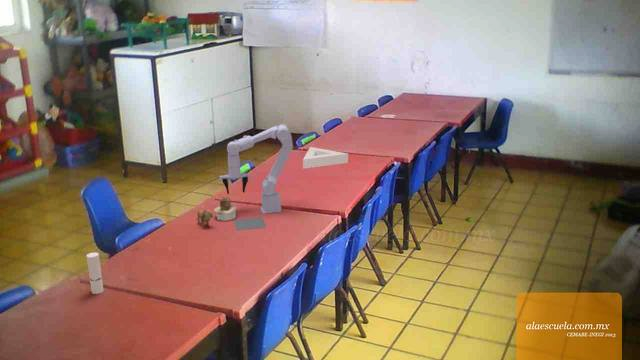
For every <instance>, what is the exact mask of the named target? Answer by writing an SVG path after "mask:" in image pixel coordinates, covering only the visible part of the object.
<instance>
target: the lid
mask: <svg viewBox="0 0 640 360" xmlns="http://www.w3.org/2000/svg"><path fill="white" fill-rule="evenodd" d="M213 211H214V214H216V213H218V214H230V213H234V212H237V211H238V207H237V206H235V205H233V204H232V205H231V198H230V197H221V198H220V200H219V206H217V207H215V208H214V210H213Z"/></svg>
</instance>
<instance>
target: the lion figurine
mask: <svg viewBox="0 0 640 360" xmlns="http://www.w3.org/2000/svg"><path fill="white" fill-rule="evenodd" d="M214 216H215V213H213V212H212V211H211V210H210V209H206V210H203V209H199V210H198V211H197V218H196V220H197V225H200V224H201V225H202V227H201V228H202V229H206V227H205V226H207V227H209V226H210V225H209V222H210V221H211V220H212V218H213V219H214ZM200 221H201V222H200ZM205 223H206V225H205Z"/></svg>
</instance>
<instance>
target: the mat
mask: <svg viewBox="0 0 640 360" xmlns="http://www.w3.org/2000/svg"><path fill="white" fill-rule="evenodd" d="M233 223H234V226H235V228H236V231H237V232H238V231H248V230H255V229H256V230H257V229H266V228H268V227H267V225H266V223H265V220H264V218H263V216H258V217H249V218H239V219H233Z"/></svg>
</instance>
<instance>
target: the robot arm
mask: <svg viewBox="0 0 640 360" xmlns="http://www.w3.org/2000/svg"><path fill="white" fill-rule="evenodd" d="M269 138H271V139H275V140H277V139H278V140H279V142H280V144H281V145H282V146H281V148H280V150H279V153H278V155H277V157H276V159H275V161H274V162H273V165H272V167H271V169H270V171H269V173H268V174H267V175H266V177H265V178H264V179H263V180H262V182H261V187H262V188H261V207H260V211H261V213H262V214H270V213H271V214H272V213H280V212H282V198H281V193H280V192H277V191H276V185H277V183H278V179H279V178H280V175H281V173H282V170H284V169H283V168H285V167H284V166H285V165H286V162H287V160H288V159H289V157H290V154H291V152H292V150H293V148H294V145H293V144H294V143H293V137H292V134H291V130H290V129H289V127H288V126H287V125H286V124H284V123H280V124H278V125H274V126H272V127H269V128H268V129H266V130H264V131H261V132H259V133H258V134H254V135H253V136H251V135H243V137H242V138H239V139H234V140H233V141H230V142H228V143H227V147H226V152H227V166H228V173H227V174H224V175H219V181H221V182H222V184H223V185H224V187H225V189H226V194H227V195H230V190H229V181H228V180H239V179H241V181H242V182H241V184H242V193H245V192H246V191H245V190H246V186H247V183H248V181H249V179H250V178H251V174H250V173H249V172H247V173H245V172H244V173H243V172H241V160H240V152H243V151H245V150H248V149H251V148H253V147H254V145H255V144H256V143H259V142H262V141H264V140H267V139H269Z"/></svg>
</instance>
